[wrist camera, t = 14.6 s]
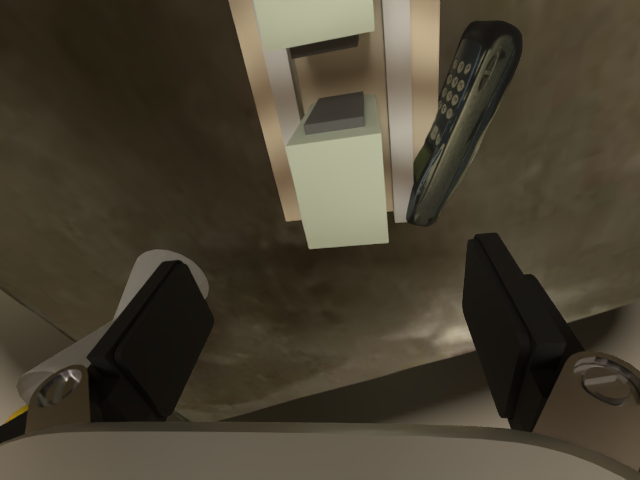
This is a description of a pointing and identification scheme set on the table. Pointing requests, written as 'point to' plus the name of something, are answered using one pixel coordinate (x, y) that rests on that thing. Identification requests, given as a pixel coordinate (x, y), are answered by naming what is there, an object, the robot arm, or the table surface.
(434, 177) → the mobile phone
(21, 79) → the table surface
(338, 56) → the rail board
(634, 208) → the table surface
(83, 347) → the lava lamp
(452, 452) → the robot arm
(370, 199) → the pale green tall block
